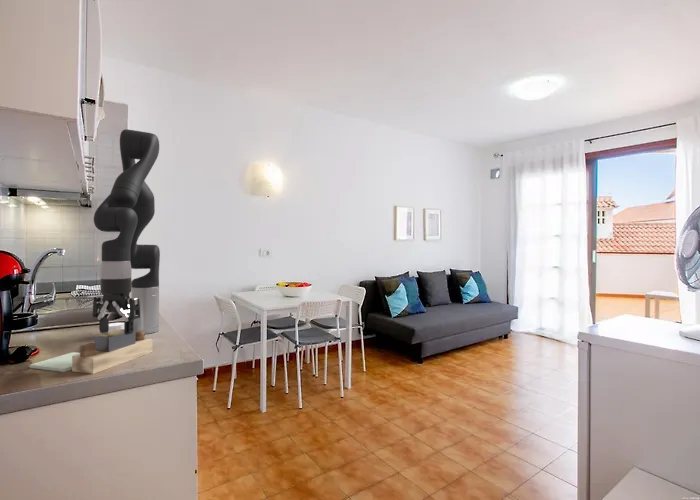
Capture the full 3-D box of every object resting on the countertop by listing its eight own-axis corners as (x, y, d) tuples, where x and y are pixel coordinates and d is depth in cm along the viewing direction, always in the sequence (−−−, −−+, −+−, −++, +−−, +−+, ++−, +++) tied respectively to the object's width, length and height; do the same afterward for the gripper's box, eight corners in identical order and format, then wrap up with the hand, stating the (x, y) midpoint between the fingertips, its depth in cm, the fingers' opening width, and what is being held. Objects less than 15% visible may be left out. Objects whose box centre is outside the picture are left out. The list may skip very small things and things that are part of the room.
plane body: (72, 371, 97) (72, 344, 97) (134, 350, 116) (134, 328, 116) (93, 373, 95) (93, 347, 95) (152, 352, 115) (152, 329, 115)
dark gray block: (94, 350, 102) (94, 334, 102) (121, 342, 111) (121, 327, 111) (108, 352, 101) (108, 335, 101) (135, 343, 110) (135, 328, 109)
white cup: (120, 341, 127) (120, 321, 126) (131, 344, 123) (131, 323, 123) (98, 346, 121) (98, 324, 121) (109, 349, 117) (109, 327, 117)
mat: (29, 367, 99) (29, 364, 99) (72, 354, 111) (72, 352, 111) (64, 372, 96) (64, 368, 96) (104, 358, 108) (104, 355, 108)
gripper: (147, 276, 107) (147, 331, 107) (107, 275, 111) (107, 329, 111) (125, 278, 100) (125, 337, 100) (84, 277, 104) (84, 334, 104)
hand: (116, 333), depth 105 cm, fingers open, 8 cm apart
